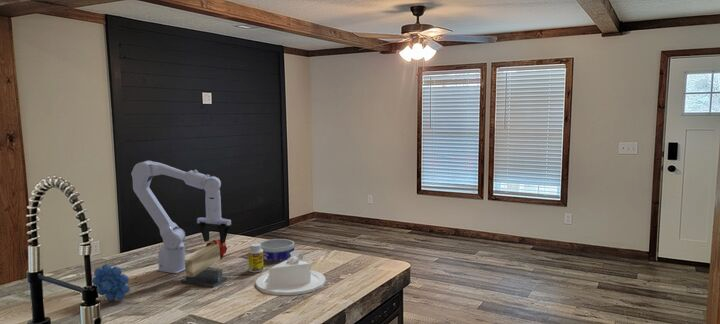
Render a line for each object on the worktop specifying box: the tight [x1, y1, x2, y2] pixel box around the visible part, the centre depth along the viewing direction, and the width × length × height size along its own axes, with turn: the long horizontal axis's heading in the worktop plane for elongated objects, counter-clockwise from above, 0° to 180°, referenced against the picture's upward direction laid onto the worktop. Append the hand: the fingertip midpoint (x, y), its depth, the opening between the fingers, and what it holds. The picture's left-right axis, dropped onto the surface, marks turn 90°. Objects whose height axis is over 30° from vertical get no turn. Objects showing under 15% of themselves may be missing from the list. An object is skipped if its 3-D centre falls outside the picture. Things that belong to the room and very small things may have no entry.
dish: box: [255, 249, 326, 296], centre depth 168 cm, size 25×25×11 cm
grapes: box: [91, 264, 131, 302], centre depth 150 cm, size 12×7×12 cm, turn 92°
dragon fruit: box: [205, 238, 228, 259], centre depth 198 cm, size 8×8×12 cm
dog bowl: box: [258, 238, 295, 263], centre depth 200 cm, size 15×15×6 cm
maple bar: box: [184, 244, 221, 277], centre depth 168 cm, size 3×16×6 cm, turn 162°
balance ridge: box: [180, 266, 228, 288], centre depth 169 cm, size 14×8×5 cm, turn 70°
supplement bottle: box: [248, 243, 264, 273], centre depth 181 cm, size 6×6×10 cm
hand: (214, 242), depth 184 cm, fingers open, 7 cm apart
